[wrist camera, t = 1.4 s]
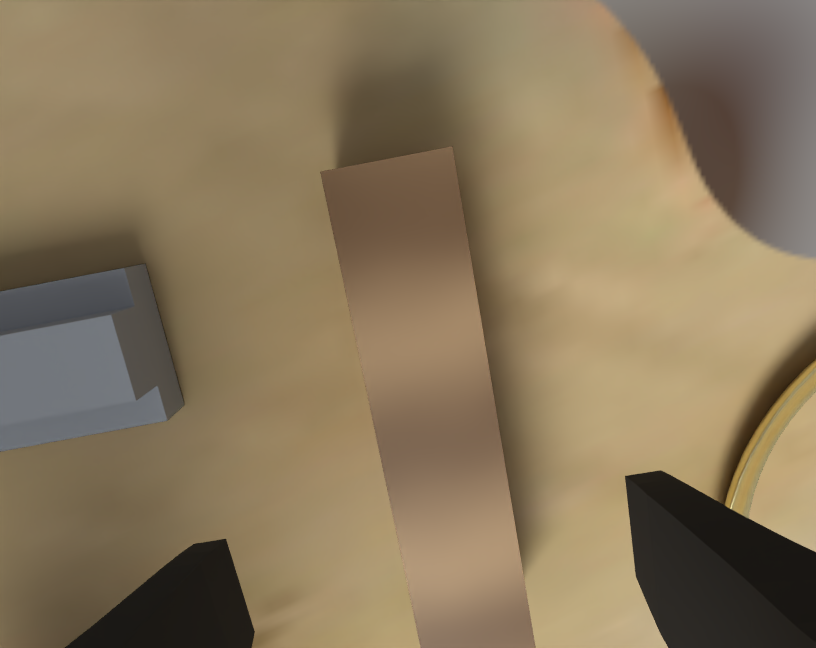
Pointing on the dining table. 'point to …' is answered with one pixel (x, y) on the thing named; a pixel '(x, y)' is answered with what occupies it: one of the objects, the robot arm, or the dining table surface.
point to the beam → (431, 396)
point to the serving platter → (768, 439)
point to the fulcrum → (83, 358)
